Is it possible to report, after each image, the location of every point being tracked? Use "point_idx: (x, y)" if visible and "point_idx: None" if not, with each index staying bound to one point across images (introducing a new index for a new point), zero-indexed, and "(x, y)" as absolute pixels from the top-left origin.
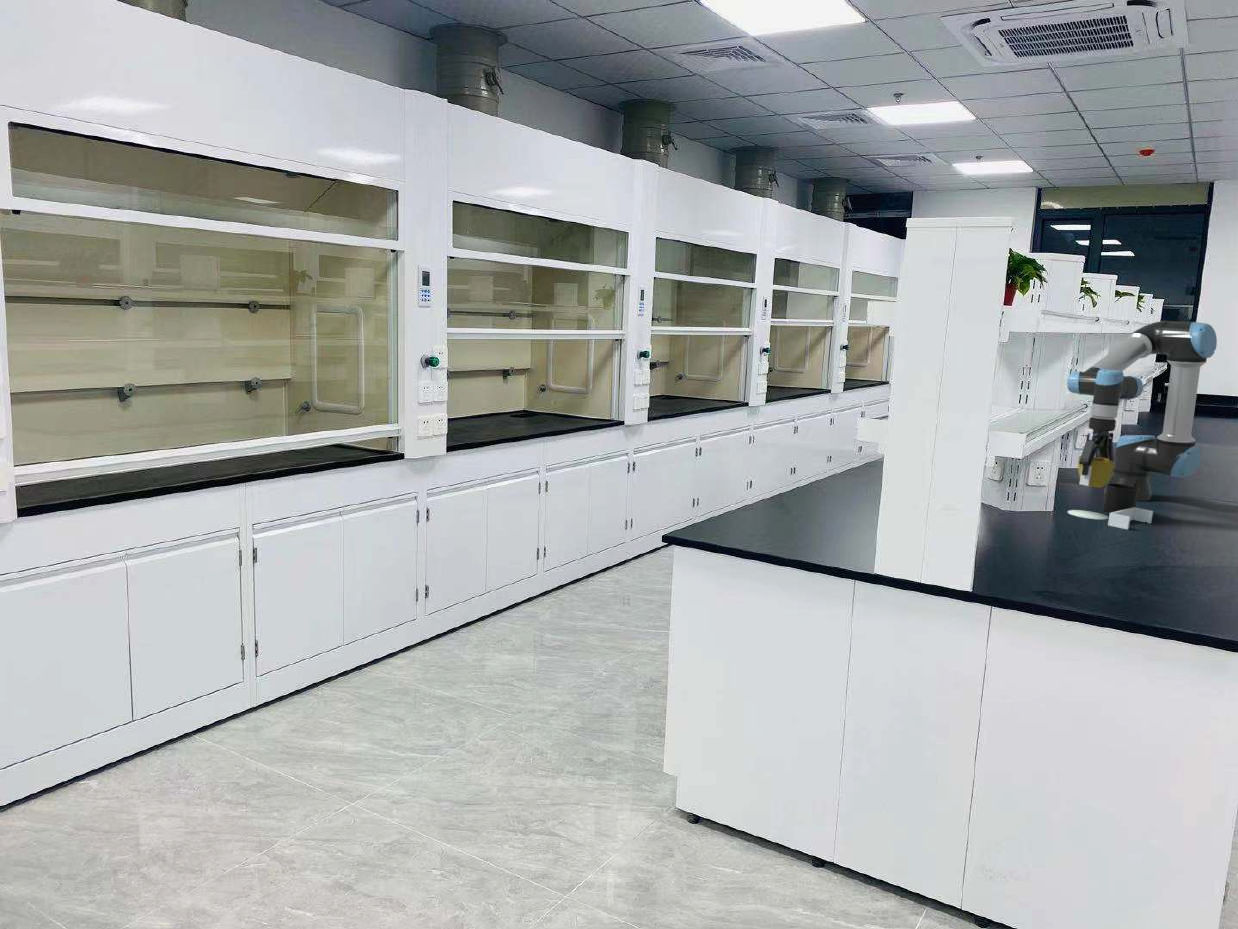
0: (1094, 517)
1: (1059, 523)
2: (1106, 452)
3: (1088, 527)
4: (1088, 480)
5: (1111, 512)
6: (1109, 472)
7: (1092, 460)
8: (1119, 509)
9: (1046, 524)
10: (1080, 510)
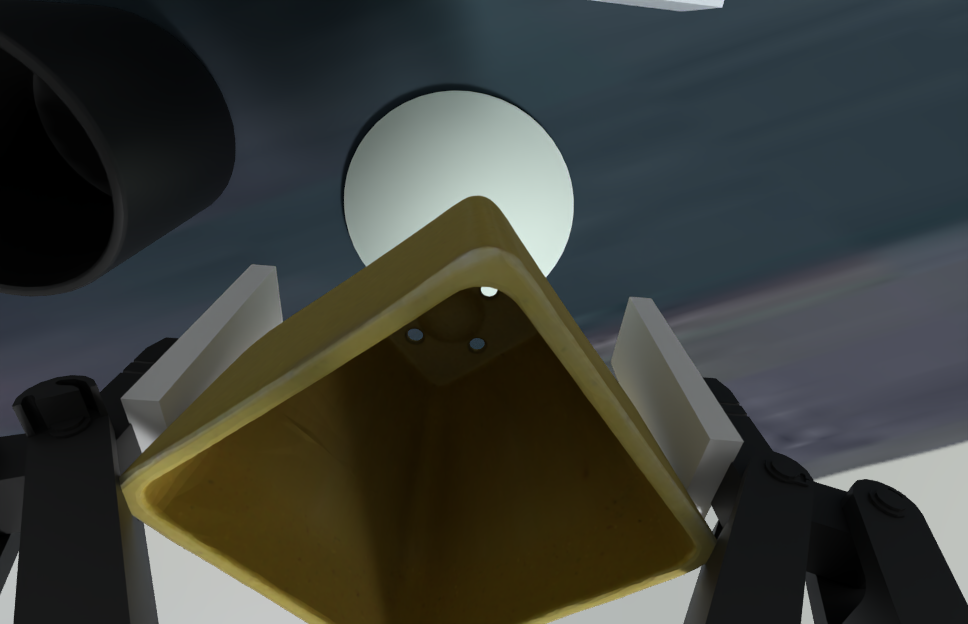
0: (523, 156)
1: (863, 230)
2: (131, 605)
3: (864, 78)
4: (668, 328)
5: (691, 2)
6: (513, 230)
7: (744, 512)
8: (203, 93)
9: (945, 262)
10: None
